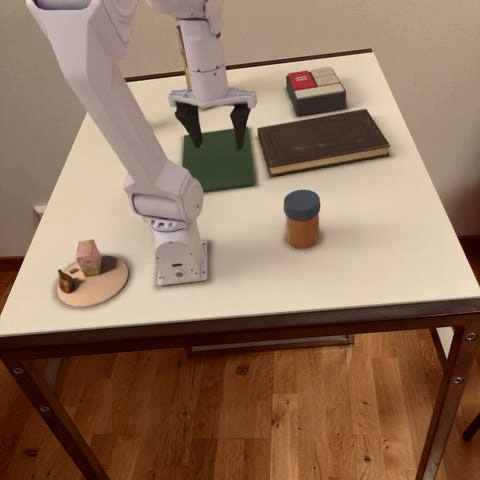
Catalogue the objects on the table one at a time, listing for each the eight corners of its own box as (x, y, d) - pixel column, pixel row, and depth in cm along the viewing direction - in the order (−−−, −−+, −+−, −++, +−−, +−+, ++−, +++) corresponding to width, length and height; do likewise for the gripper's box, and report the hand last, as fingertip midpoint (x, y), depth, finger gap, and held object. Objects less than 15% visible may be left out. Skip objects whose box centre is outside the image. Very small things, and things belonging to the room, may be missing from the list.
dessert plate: (62, 261, 87) (52, 241, 84) (131, 251, 87) (123, 230, 84) (51, 312, 79) (39, 291, 76) (127, 300, 79) (118, 279, 76)
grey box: (332, 64, 118) (346, 88, 108) (332, 83, 121) (346, 108, 111) (285, 71, 119) (295, 96, 108) (286, 90, 122) (296, 116, 111)
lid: (322, 218, 78) (322, 208, 76) (286, 223, 78) (285, 213, 76) (317, 197, 81) (317, 187, 80) (282, 201, 82) (281, 191, 80)
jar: (321, 246, 82) (321, 210, 77) (289, 250, 82) (286, 214, 77) (316, 226, 85) (316, 190, 80) (285, 230, 86) (283, 195, 80)
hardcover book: (389, 156, 97) (390, 145, 95) (270, 177, 97) (269, 166, 95) (364, 117, 107) (365, 107, 106) (257, 136, 108) (256, 126, 106)
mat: (254, 185, 96) (254, 183, 95) (181, 195, 97) (180, 192, 96) (248, 129, 110) (247, 126, 110) (184, 137, 111) (184, 135, 111)
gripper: (258, 53, 78) (265, 135, 88) (172, 54, 82) (188, 133, 92) (246, 73, 74) (255, 157, 84) (156, 73, 78) (174, 153, 88)
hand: (219, 146), depth 88 cm, fingers open, 7 cm apart
